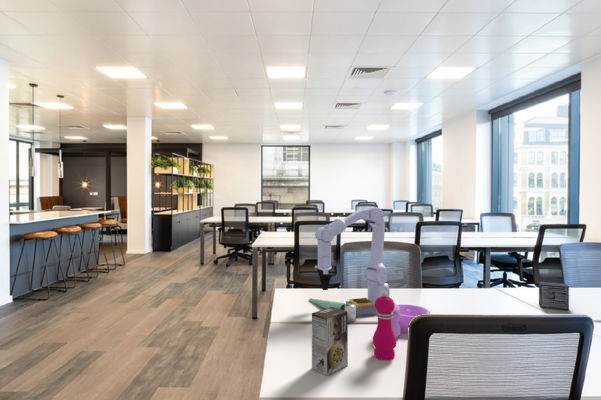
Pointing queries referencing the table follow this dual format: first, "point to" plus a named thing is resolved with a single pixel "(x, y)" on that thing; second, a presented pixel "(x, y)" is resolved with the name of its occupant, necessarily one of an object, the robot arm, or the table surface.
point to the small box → (554, 296)
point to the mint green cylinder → (328, 304)
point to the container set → (405, 317)
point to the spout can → (350, 312)
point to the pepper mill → (384, 328)
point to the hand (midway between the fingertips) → (324, 287)
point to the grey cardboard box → (329, 340)
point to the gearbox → (364, 307)
